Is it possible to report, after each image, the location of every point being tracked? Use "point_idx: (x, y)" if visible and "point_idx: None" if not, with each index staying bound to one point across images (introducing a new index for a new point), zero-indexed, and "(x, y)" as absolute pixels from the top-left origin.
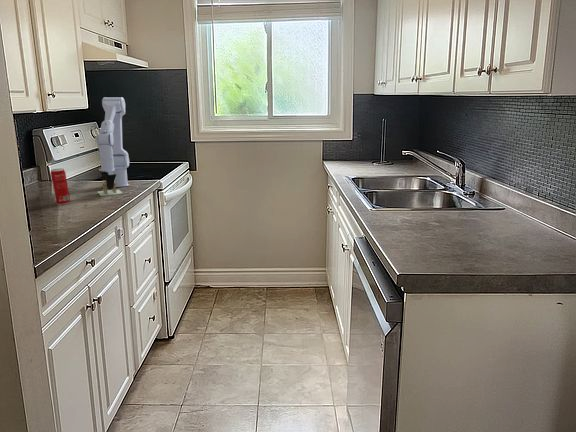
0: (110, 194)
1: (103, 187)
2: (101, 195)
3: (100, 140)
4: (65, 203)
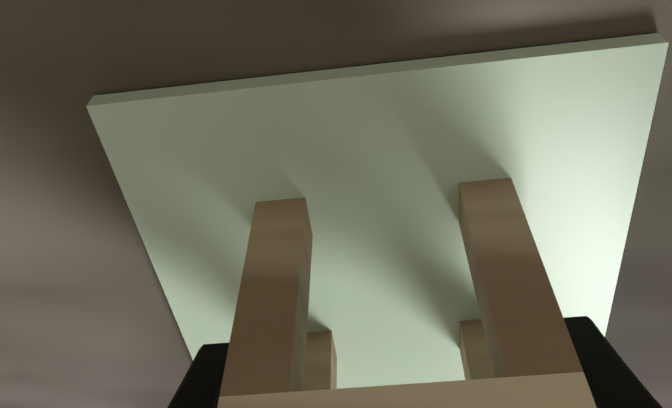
0: (162, 277)
1: (481, 266)
2: (95, 119)
3: None
4: None
